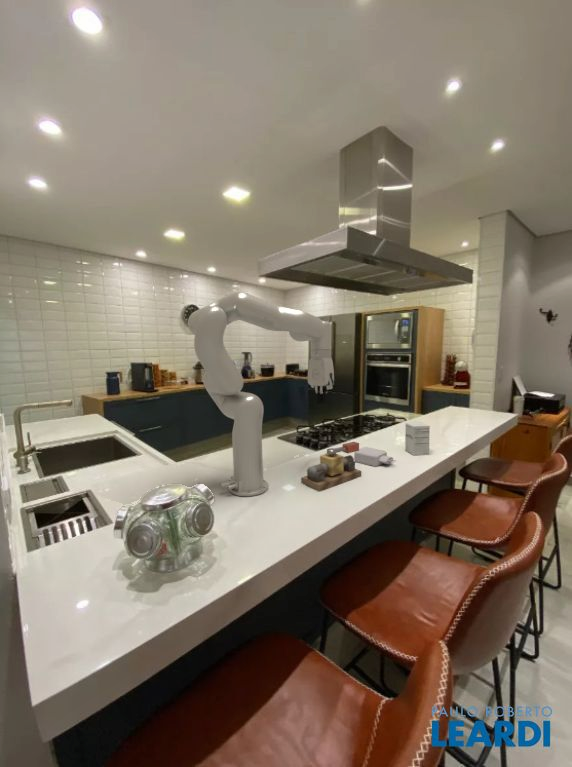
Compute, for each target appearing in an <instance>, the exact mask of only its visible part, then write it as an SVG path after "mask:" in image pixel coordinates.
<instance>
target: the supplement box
mask: <svg viewBox="0 0 572 767" xmlns="http://www.w3.org/2000/svg"><path fill="white" fill-rule="evenodd" d="M430 427H431V426H430V425H429V424H426V423H423V422H421V421H415V422H413V421H412V422H406V423H405V442H404V443H405V446H404V448H405V452H408V453H409V454H411V455H412V456H413V457H414V456H428V455H430V433H431V432H430Z"/></svg>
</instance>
